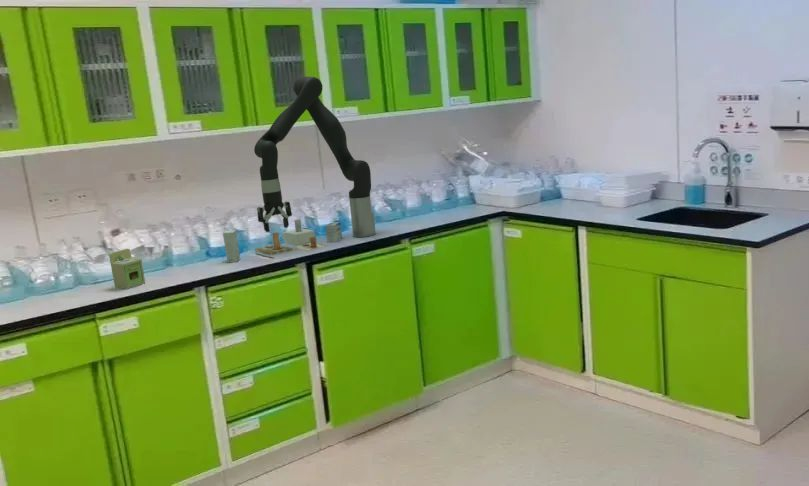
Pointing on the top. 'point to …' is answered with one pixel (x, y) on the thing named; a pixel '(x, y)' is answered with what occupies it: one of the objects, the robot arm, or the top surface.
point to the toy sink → (126, 269)
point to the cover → (298, 234)
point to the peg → (276, 241)
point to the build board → (272, 250)
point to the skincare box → (231, 246)
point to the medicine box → (333, 232)
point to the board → (310, 245)
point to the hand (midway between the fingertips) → (277, 229)
